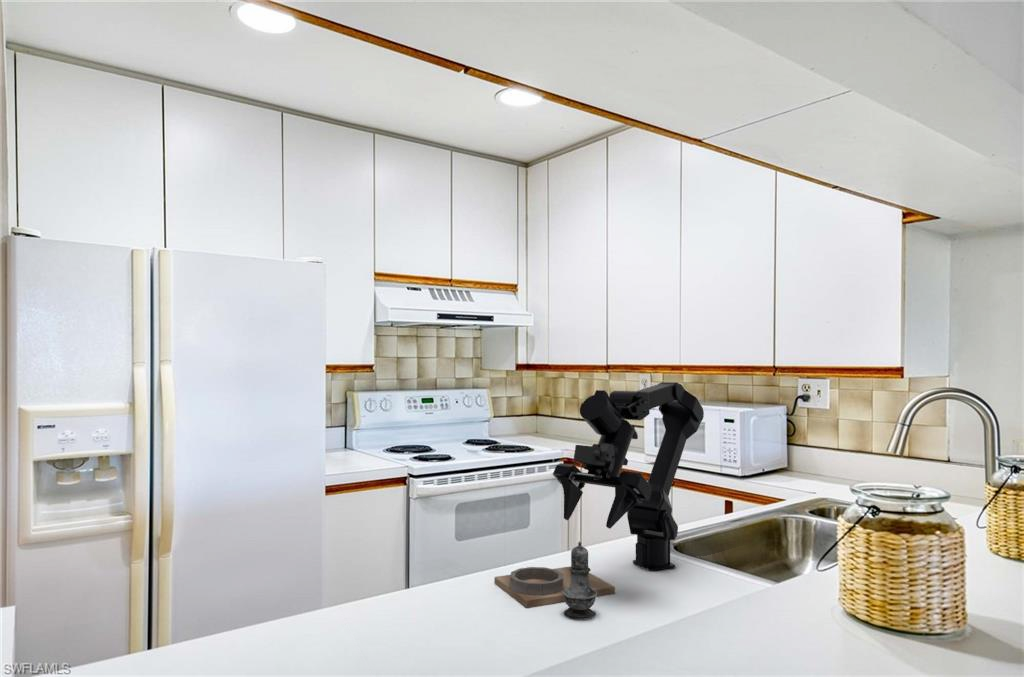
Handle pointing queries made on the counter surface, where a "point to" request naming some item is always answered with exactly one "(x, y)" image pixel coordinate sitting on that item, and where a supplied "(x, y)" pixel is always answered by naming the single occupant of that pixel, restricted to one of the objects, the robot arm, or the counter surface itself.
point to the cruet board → (544, 585)
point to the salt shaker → (579, 587)
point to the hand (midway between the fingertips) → (586, 523)
